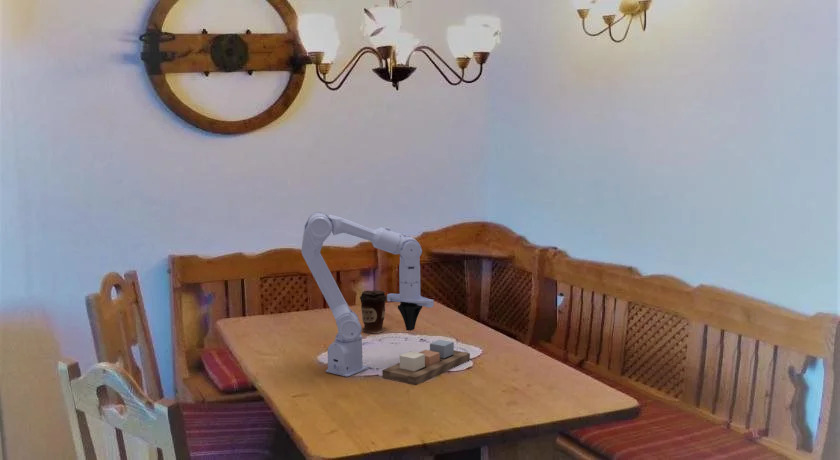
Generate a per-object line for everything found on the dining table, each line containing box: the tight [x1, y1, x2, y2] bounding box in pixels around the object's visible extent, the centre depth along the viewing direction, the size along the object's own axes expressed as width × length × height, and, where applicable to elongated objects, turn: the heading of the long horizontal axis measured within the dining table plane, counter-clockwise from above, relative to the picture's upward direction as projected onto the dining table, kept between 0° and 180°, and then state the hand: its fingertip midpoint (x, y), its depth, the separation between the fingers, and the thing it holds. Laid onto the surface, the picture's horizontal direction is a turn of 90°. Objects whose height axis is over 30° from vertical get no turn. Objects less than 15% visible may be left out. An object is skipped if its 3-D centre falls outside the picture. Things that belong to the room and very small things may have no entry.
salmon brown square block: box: [418, 349, 440, 366], centre depth 220 cm, size 5×5×4 cm
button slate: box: [429, 339, 455, 358], centre depth 225 cm, size 5×5×4 cm
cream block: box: [399, 350, 425, 371], centre depth 214 cm, size 5×5×4 cm
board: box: [381, 350, 471, 386], centre depth 220 cm, size 26×11×2 cm, turn 144°
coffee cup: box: [359, 289, 387, 334], centre depth 258 cm, size 9×8×13 cm
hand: (410, 329), depth 221 cm, fingers closed
